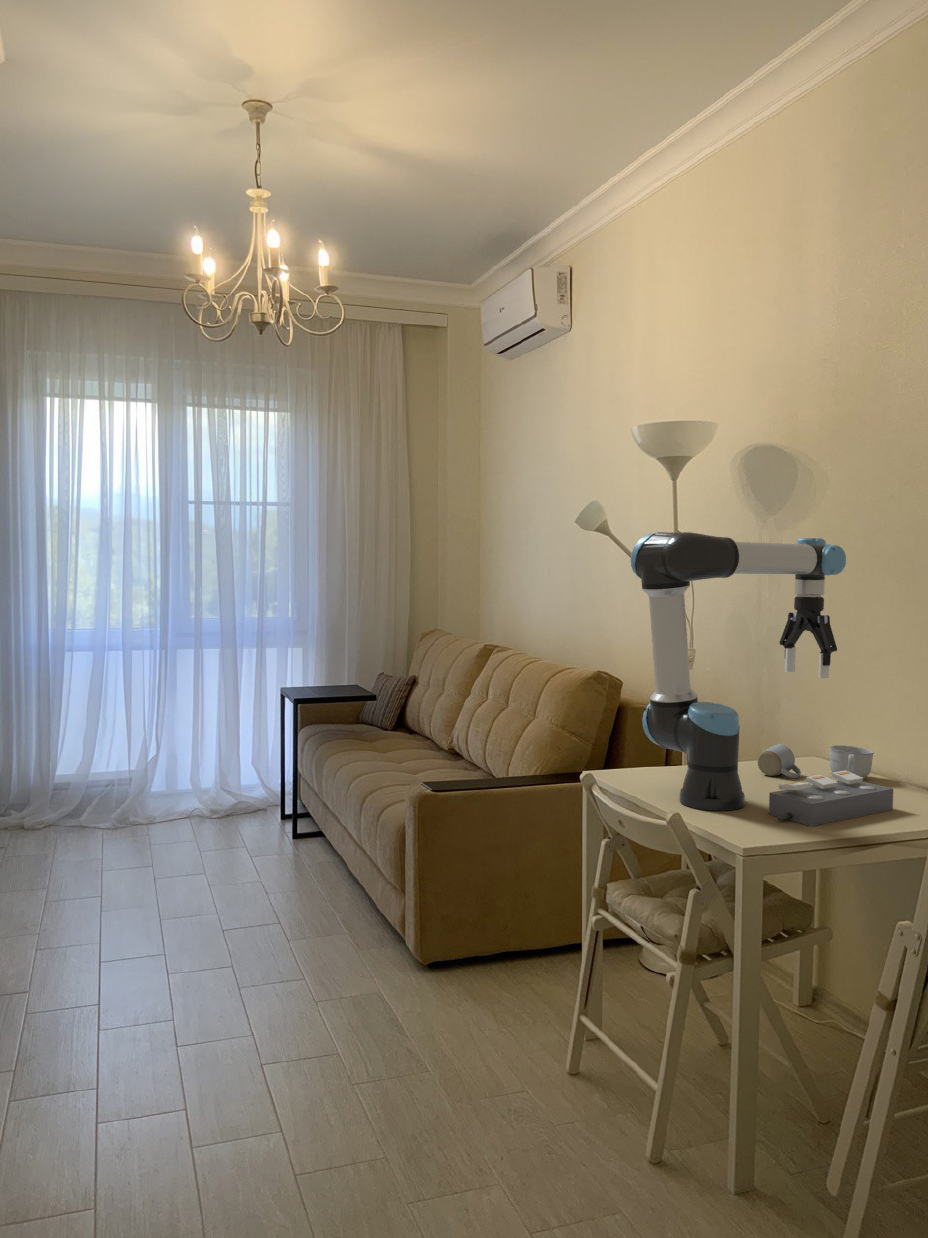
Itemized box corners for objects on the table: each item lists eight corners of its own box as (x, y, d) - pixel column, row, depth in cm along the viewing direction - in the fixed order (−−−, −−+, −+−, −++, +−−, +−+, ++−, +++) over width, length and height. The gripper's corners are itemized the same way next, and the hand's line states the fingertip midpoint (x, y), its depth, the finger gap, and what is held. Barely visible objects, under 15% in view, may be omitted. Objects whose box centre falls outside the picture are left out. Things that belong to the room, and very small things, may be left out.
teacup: (833, 771, 279) (834, 742, 278) (875, 776, 273) (876, 747, 273) (822, 781, 267) (823, 751, 266) (866, 787, 261) (867, 756, 261)
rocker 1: (796, 791, 231) (795, 785, 231) (779, 790, 235) (778, 784, 235) (811, 788, 233) (810, 782, 233) (794, 788, 237) (793, 781, 237)
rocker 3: (848, 785, 240) (849, 779, 240) (831, 777, 244) (832, 772, 244) (862, 783, 243) (863, 777, 242) (844, 775, 247) (845, 769, 247)
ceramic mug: (754, 774, 275) (756, 746, 274) (768, 769, 281) (769, 742, 280) (792, 781, 268) (794, 752, 267) (805, 776, 274) (807, 748, 274)
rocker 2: (822, 790, 235) (823, 784, 235) (805, 782, 240) (806, 776, 239) (836, 787, 238) (837, 781, 238) (819, 779, 242) (820, 774, 242)
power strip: (799, 828, 222) (800, 805, 222) (757, 816, 232) (758, 793, 232) (892, 809, 239) (893, 787, 238) (849, 798, 249) (850, 777, 249)
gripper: (853, 598, 263) (850, 680, 264) (790, 593, 286) (787, 669, 288) (829, 598, 260) (826, 681, 262) (768, 593, 284) (765, 670, 285)
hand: (806, 675), depth 275 cm, fingers open, 13 cm apart
